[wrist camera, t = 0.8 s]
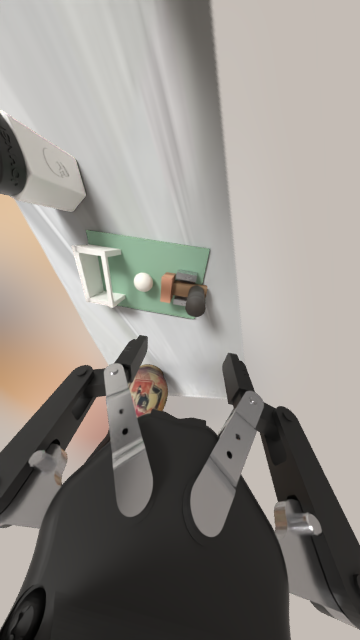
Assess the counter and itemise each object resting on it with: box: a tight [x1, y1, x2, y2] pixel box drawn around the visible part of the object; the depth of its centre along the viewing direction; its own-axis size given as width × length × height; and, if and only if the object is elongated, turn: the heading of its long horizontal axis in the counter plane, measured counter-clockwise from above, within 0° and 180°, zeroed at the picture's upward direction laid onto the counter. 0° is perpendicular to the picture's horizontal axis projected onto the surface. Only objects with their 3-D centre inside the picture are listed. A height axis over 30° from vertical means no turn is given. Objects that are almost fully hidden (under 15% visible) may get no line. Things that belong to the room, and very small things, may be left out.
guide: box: [173, 269, 197, 306], centre depth 29 cm, size 7×4×3 cm, turn 173°
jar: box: [0, 109, 86, 212], centre depth 18 cm, size 9×8×12 cm
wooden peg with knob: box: [160, 272, 207, 317], centre depth 26 cm, size 5×9×10 cm, turn 83°
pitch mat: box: [86, 230, 210, 319], centre depth 31 cm, size 16×25×1 cm, turn 83°
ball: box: [134, 273, 153, 292], centre depth 29 cm, size 4×4×4 cm
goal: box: [72, 245, 125, 308], centre depth 28 cm, size 11×6×6 cm, turn 173°
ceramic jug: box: [84, 364, 168, 464], centre depth 35 cm, size 17×15×30 cm
